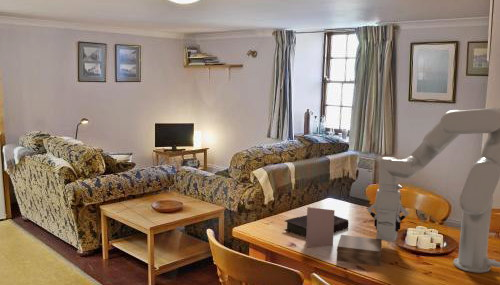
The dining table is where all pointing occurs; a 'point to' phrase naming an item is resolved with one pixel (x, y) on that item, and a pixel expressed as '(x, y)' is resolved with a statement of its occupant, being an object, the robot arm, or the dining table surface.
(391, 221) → the supplement box
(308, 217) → the greeting card
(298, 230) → the diary
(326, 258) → the dining table surface
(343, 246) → the walnut box
